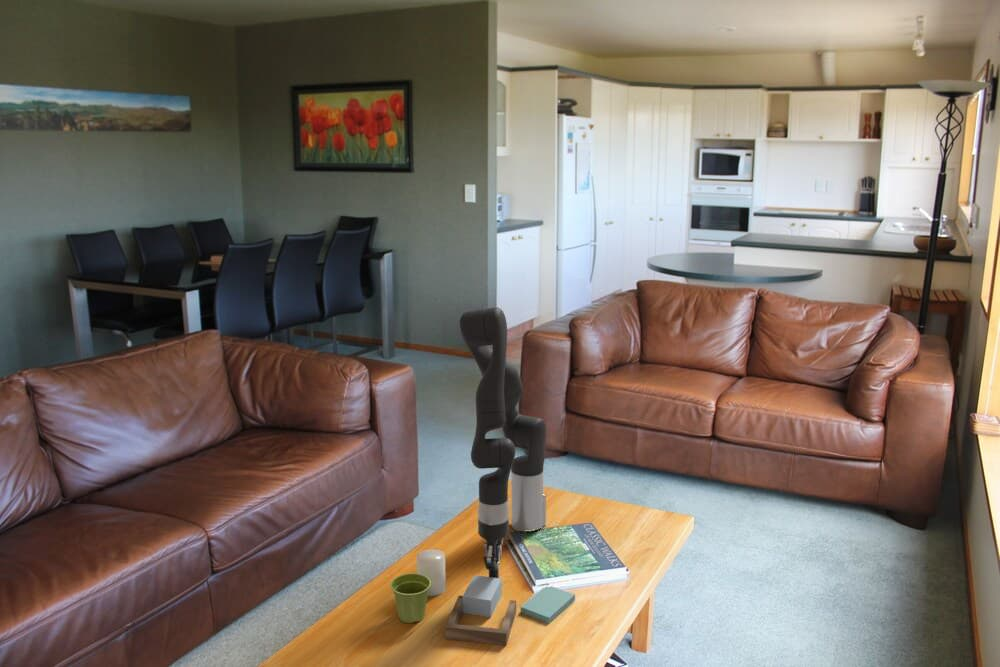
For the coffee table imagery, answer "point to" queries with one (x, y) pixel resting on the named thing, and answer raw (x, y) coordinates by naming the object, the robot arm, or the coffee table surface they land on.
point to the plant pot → (411, 596)
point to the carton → (482, 596)
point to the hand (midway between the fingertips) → (493, 580)
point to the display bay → (479, 633)
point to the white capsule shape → (433, 570)
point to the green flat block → (547, 603)
